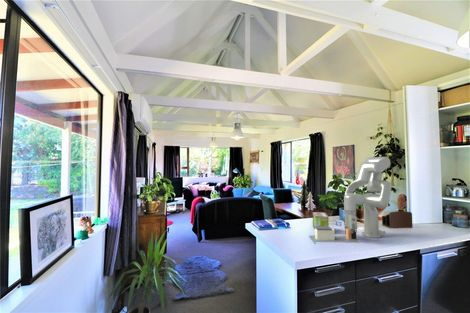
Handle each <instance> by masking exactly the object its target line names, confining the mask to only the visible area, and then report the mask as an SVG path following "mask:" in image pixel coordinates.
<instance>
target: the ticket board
mask: <svg viewBox="0 0 470 313" xmlns="http://www.w3.org/2000/svg"><path fill="white" fill-rule="evenodd" d="M308 237H309V239H310V240H311V241H312V243H314V244H315V245H316V244H317V243H345V244H346V243H347V244H348V243H351V244H352V243H353V244H355V243H356V244H357V243H358V244H360V241H358V240H357V239H356V240H348V239H346V235H335V229H334V228H333V227H331V226H315V232H314V235H308Z"/></svg>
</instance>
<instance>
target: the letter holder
mask: <svg viewBox="0 0 470 313" xmlns="http://www.w3.org/2000/svg"><path fill="white" fill-rule="evenodd" d="M381 221H382V222H381V223H382V224H381V225H382V226H383V227H386V228H388V229H412V228H414V227H413V226H414V225H413V213H412V212H411V211H403V210H401V211H400V210H399V211H390V212H389V214H388V213H387V214H385V215H384V216H382V219H381Z"/></svg>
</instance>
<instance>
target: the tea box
mask: <svg viewBox="0 0 470 313" xmlns="http://www.w3.org/2000/svg"><path fill="white" fill-rule="evenodd" d="M329 222H330V220H329V215H328V214H327V212H318V211H317V212H315V211H313V212H312V230H313V232H314V233H315V226H329ZM329 227H330V226H329Z"/></svg>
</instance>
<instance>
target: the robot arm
mask: <svg viewBox="0 0 470 313" xmlns="http://www.w3.org/2000/svg"><path fill="white" fill-rule="evenodd" d="M390 166H391V159H390V158H389V157H386V156H375V157H374V156H373V157H372V156H371V157H367V158H366V159H365V161H364V162H361V163H360V165H359V166H358V171H357V174H356V176H355V179H354V180H353V181H352V182H351V183H350V184H349V185H348V186H347V187H346V190H345V193H344V196H343V211H344V212H343V214H344V222H343V223H344V232H345V233H344V235H346V228H349V229H350V230H351V232H352V233H351V239H356V240H357V233H358V232H357V231H358V219H357V206H359V205H360V206H362V205H363V231H362V232H361V235H362V236H364V237H367V238H374V239H375V238H376V239H380V238H381V237H382V234H383V235H384V234H385V235H386V234H387V232H386V231H385V230H380V229H379V228H380V226H379V211H378V208H380V209H386V208H388V206H389V204H390V199H391V194H392V185H391V183H390V181H388V180H383V179H382V178H383V173H382V172H384V171H385V170H387V169H389V167H390ZM363 186H366V189H367V191H368V193H364V194H361V193H354V192H355V190H357V189H358V188H360V187H363ZM369 192H370V193H369ZM352 228H353V229H352Z"/></svg>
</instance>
